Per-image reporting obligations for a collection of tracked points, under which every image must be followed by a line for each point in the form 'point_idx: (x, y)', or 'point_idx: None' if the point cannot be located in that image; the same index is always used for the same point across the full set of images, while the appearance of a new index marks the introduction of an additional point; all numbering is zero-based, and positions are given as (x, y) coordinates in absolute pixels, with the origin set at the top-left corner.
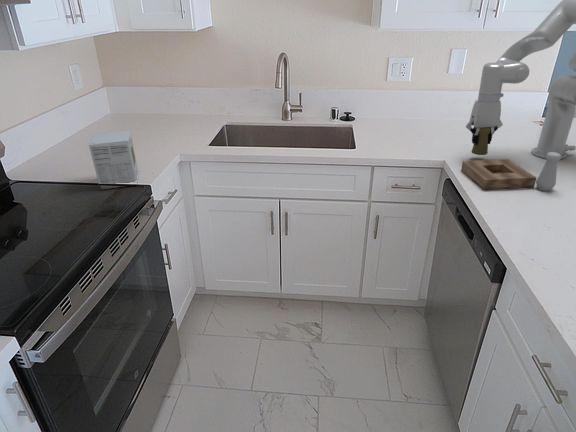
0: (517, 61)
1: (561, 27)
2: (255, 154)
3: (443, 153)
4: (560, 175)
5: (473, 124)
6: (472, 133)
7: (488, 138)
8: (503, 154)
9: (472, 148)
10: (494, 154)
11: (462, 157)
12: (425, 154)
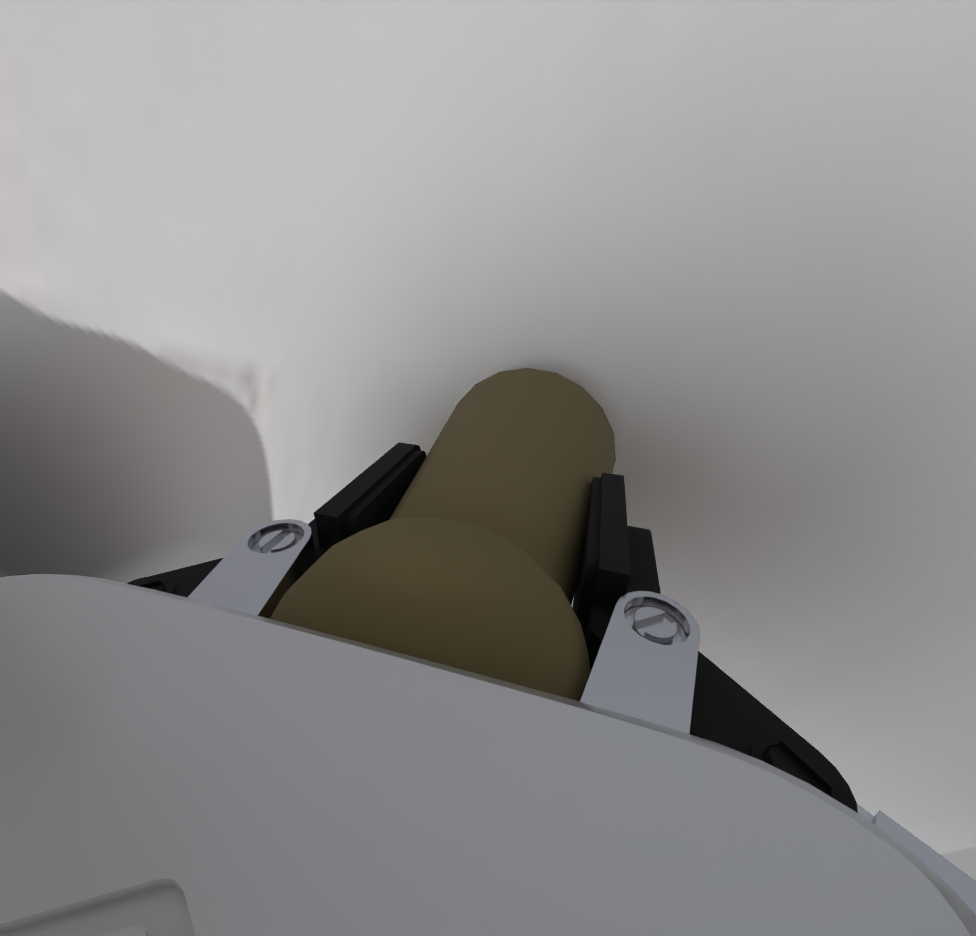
0: None
1: None
2: None
3: (272, 170)
4: (914, 816)
5: (107, 598)
6: (277, 541)
7: (574, 603)
8: (963, 339)
9: (448, 421)
10: (839, 315)
11: (421, 337)
12: (105, 177)
